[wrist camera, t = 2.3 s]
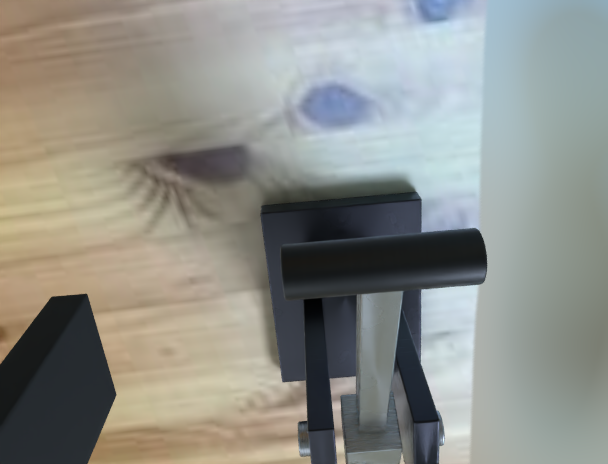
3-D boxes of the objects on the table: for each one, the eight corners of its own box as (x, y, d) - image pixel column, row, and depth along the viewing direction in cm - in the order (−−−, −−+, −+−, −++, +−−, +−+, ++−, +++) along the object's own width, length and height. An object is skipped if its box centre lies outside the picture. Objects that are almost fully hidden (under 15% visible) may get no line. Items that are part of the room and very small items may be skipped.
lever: (279, 219, 14) (281, 296, 13) (471, 202, 14) (497, 278, 13) (310, 422, 25) (314, 477, 24) (420, 413, 25) (431, 468, 23)
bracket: (261, 204, 32) (241, 353, 19) (417, 191, 31) (500, 332, 19) (282, 370, 37) (277, 574, 24) (417, 359, 37) (482, 558, 24)
